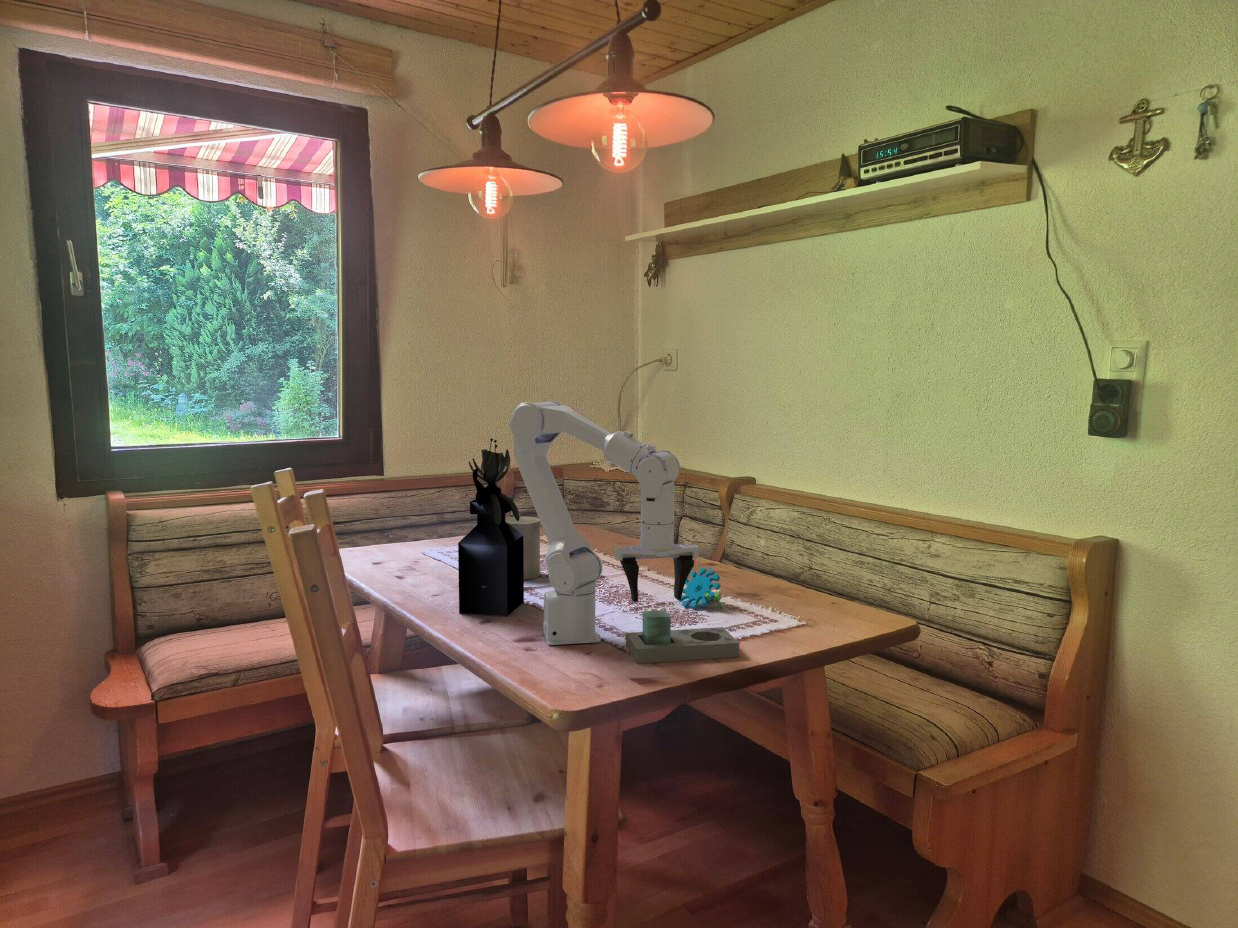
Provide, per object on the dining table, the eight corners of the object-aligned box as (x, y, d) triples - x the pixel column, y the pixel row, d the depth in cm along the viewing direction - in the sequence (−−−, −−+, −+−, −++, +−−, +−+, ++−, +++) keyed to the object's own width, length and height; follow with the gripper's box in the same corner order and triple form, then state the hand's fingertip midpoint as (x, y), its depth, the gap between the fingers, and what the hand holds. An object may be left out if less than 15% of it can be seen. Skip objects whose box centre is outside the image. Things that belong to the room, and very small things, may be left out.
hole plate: (636, 663, 138) (637, 649, 138) (625, 646, 147) (625, 632, 147) (739, 656, 142) (739, 642, 142) (722, 640, 151) (722, 627, 150)
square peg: (647, 657, 141) (647, 617, 141) (642, 650, 145) (642, 611, 145) (670, 656, 142) (670, 616, 141) (664, 648, 146) (664, 610, 145)
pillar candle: (493, 574, 200) (492, 513, 198) (529, 569, 205) (529, 509, 203) (510, 582, 192) (510, 519, 190) (547, 577, 197) (547, 515, 195)
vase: (508, 621, 161) (507, 443, 158) (453, 617, 164) (450, 441, 160) (530, 602, 175) (530, 437, 172) (479, 598, 178) (477, 436, 174)
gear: (666, 594, 176) (695, 559, 178) (680, 610, 179) (708, 575, 181) (699, 614, 167) (730, 576, 169) (713, 629, 170) (742, 592, 173)
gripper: (620, 527, 137) (619, 607, 138) (704, 525, 139) (703, 603, 141) (612, 520, 143) (611, 596, 145) (692, 517, 146) (691, 592, 148)
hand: (656, 599), depth 143 cm, fingers open, 7 cm apart
